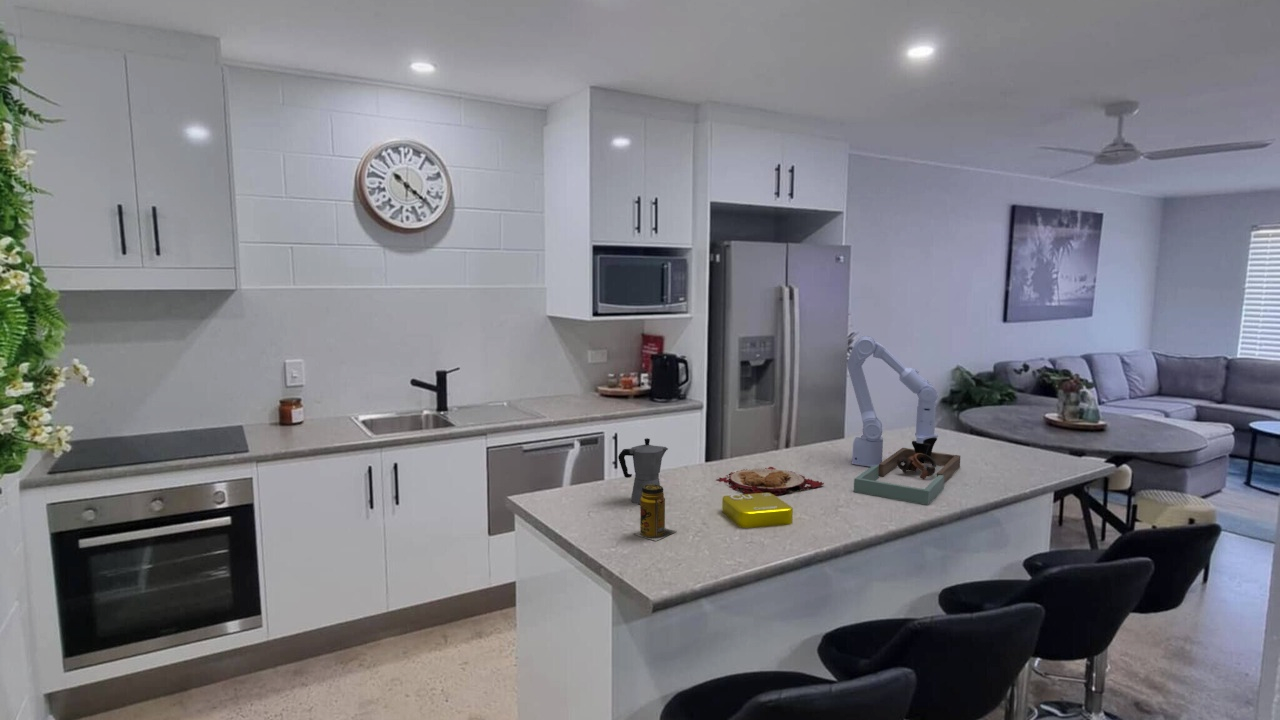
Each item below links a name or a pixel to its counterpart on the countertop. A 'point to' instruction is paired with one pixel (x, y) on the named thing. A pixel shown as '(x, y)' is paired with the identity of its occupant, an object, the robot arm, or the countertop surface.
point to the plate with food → (768, 481)
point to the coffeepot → (643, 466)
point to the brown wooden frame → (946, 460)
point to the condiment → (653, 513)
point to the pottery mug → (917, 464)
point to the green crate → (896, 488)
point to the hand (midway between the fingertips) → (923, 460)
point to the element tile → (757, 510)
